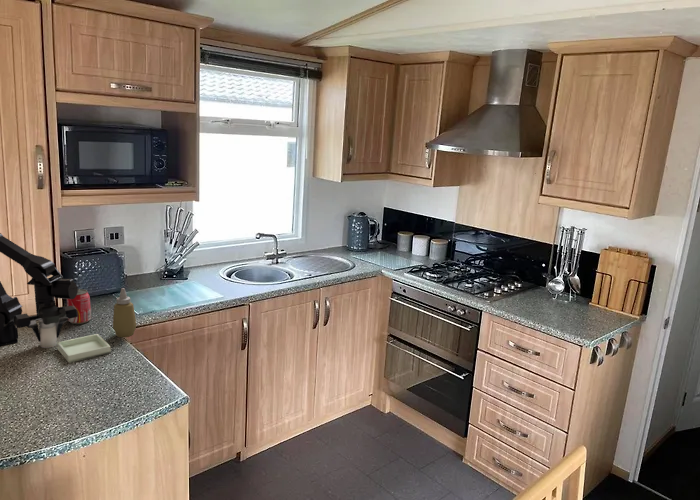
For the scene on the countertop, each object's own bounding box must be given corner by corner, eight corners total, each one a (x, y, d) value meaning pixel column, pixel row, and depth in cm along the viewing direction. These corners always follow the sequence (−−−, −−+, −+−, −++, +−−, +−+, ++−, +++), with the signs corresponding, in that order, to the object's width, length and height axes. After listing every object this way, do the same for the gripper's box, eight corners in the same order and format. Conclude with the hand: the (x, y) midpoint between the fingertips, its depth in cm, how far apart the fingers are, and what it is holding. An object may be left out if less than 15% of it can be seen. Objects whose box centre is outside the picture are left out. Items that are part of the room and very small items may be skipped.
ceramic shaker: (42, 349, 185) (40, 324, 182) (38, 344, 188) (36, 319, 186) (59, 345, 188) (57, 321, 186) (55, 340, 192) (53, 316, 190)
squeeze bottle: (140, 331, 204) (138, 285, 200) (132, 339, 196) (130, 292, 192) (118, 330, 203) (115, 284, 199) (109, 338, 196) (107, 291, 191)
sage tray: (68, 362, 176) (68, 355, 175) (57, 349, 185) (57, 342, 185) (110, 353, 185) (110, 346, 184) (97, 340, 194) (97, 333, 193)
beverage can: (68, 318, 212) (66, 289, 209) (90, 316, 215) (89, 287, 213) (68, 326, 205) (66, 296, 202) (91, 323, 209) (89, 294, 206)
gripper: (18, 308, 172) (23, 354, 176) (81, 298, 184) (84, 340, 188) (11, 299, 180) (15, 342, 184) (71, 289, 192) (74, 330, 196)
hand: (48, 339), depth 188 cm, fingers closed on ceramic shaker, 5 cm apart
